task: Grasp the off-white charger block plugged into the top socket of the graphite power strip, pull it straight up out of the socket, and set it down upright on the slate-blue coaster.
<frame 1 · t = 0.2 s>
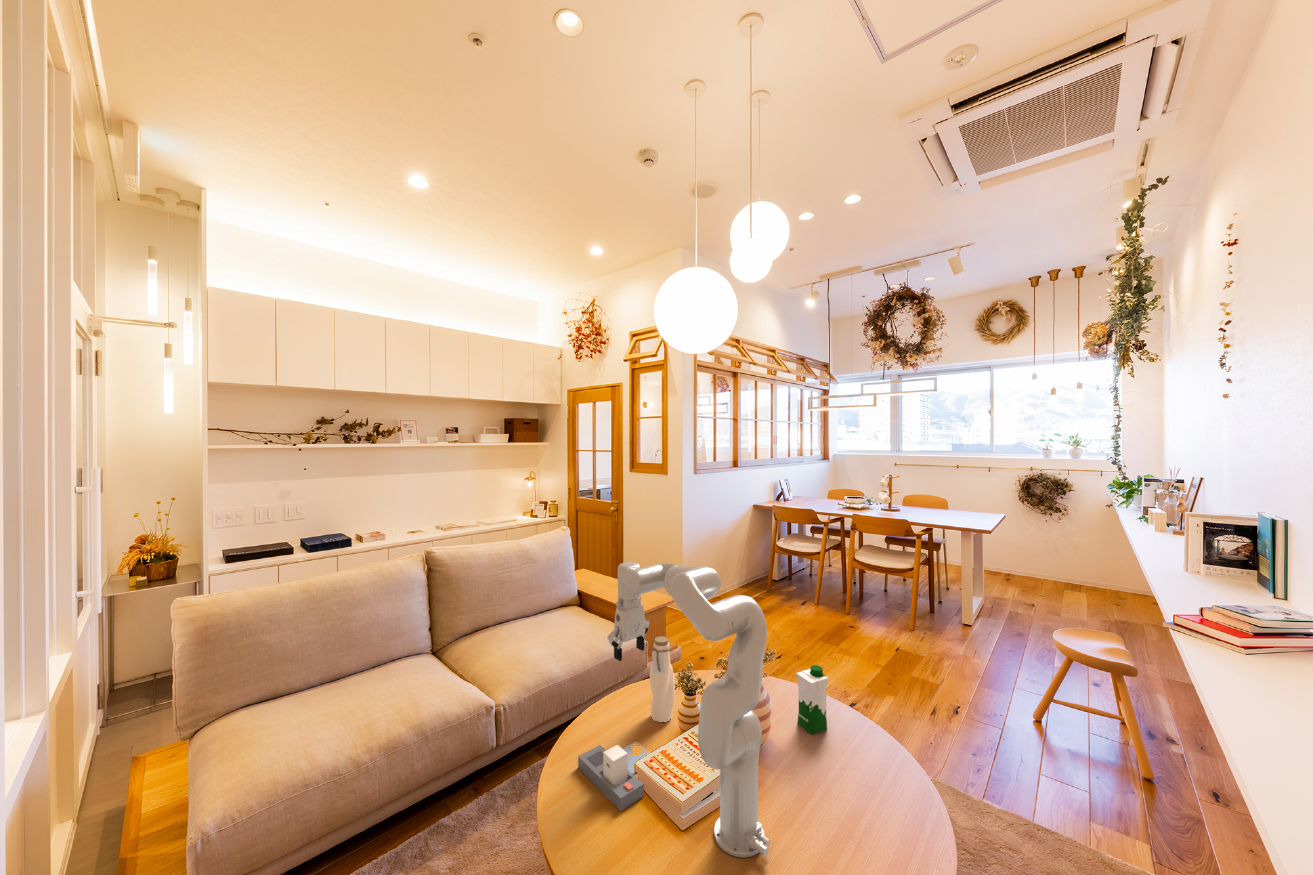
hand: (629, 654, 152), 31 cm above the table, fingers open, 9 cm apart
milk carton: (812, 727, 163), on the table
charger: (615, 780, 135), point 2 cm above the table, touching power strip
coaster: (632, 758, 147), on the table
water bottle: (662, 718, 168), on the table
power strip: (609, 781, 138), on the table
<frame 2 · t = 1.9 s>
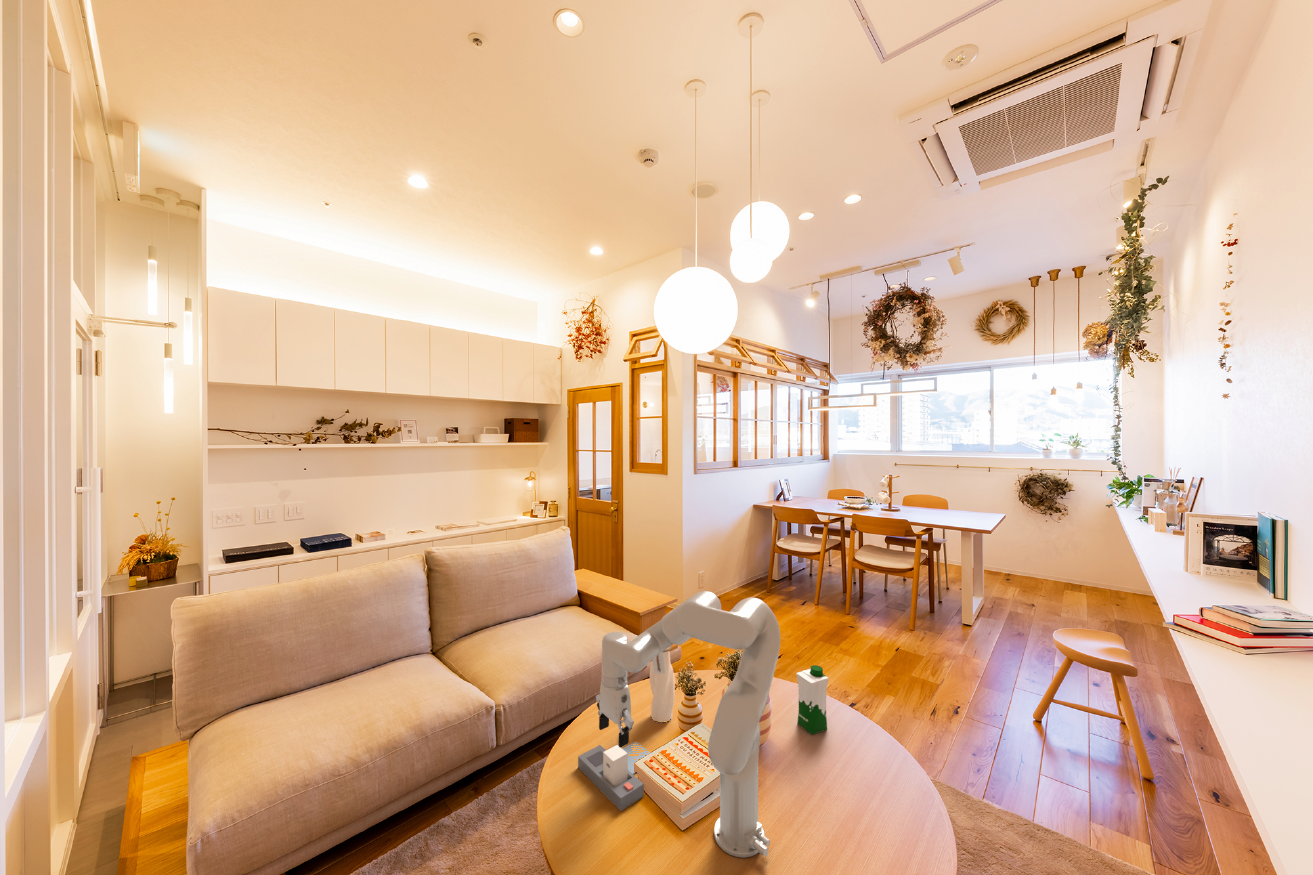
hand: (613, 736, 136), 15 cm above the table, fingers open, 9 cm apart
nothing on the table moved.
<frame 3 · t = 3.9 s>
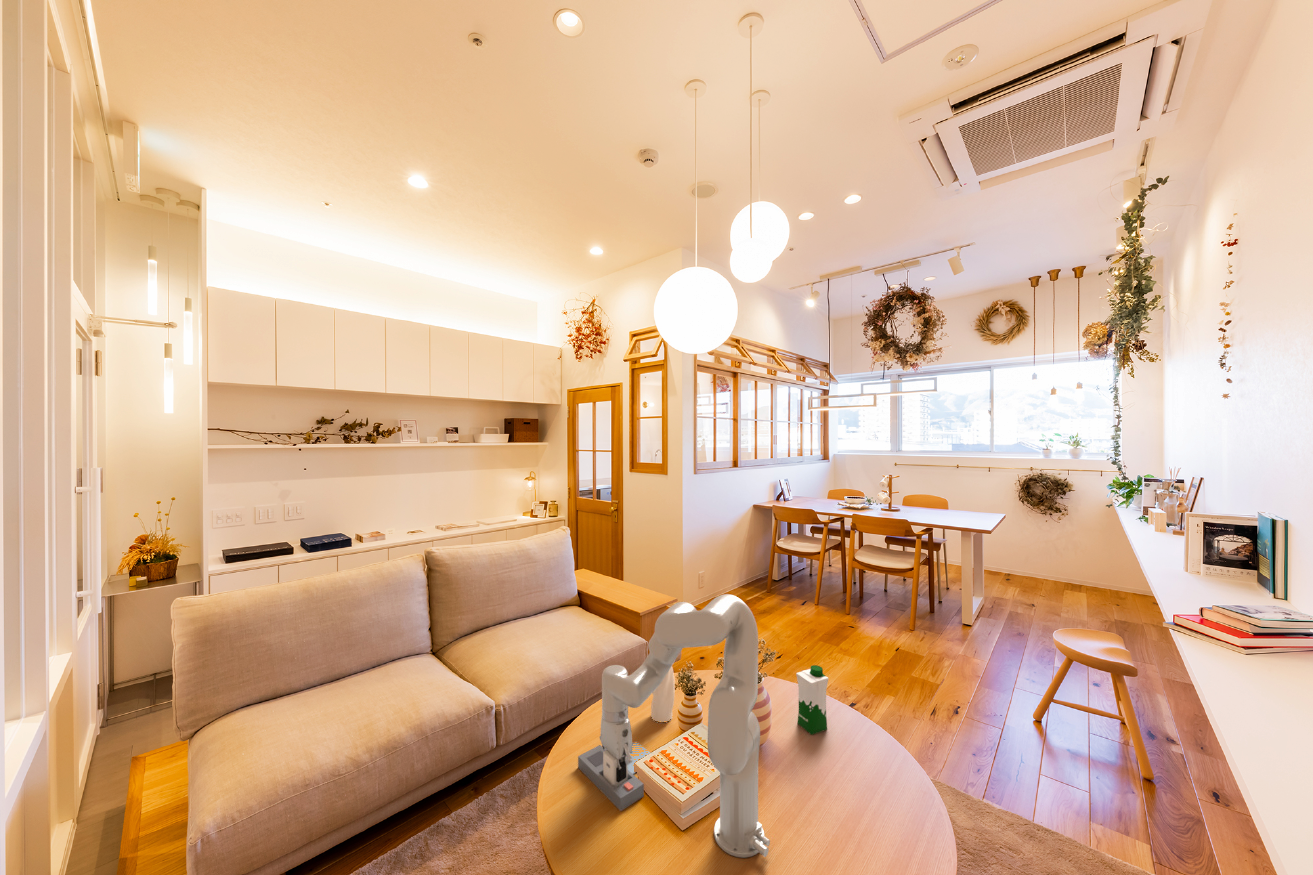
hand: (615, 773, 135), 4 cm above the table, fingers closed on charger, 5 cm apart
charger: (615, 780, 135), point 2 cm above the table, touching gripper, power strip
everything else where it was.
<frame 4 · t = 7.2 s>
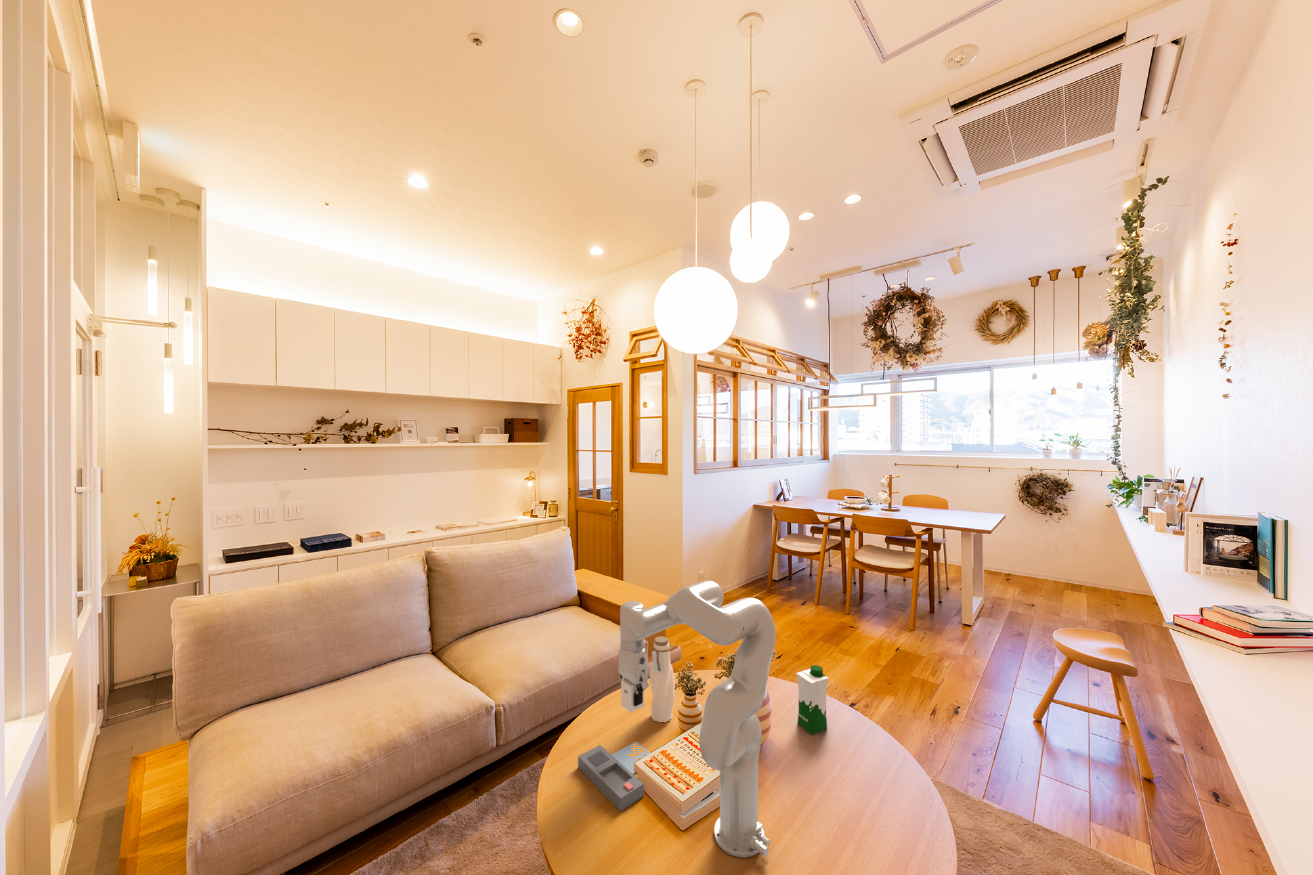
hand: (632, 699, 147), 19 cm above the table, fingers closed on charger, 5 cm apart
charger: (632, 705, 147), point 17 cm above the table, touching gripper
everything else where it was.
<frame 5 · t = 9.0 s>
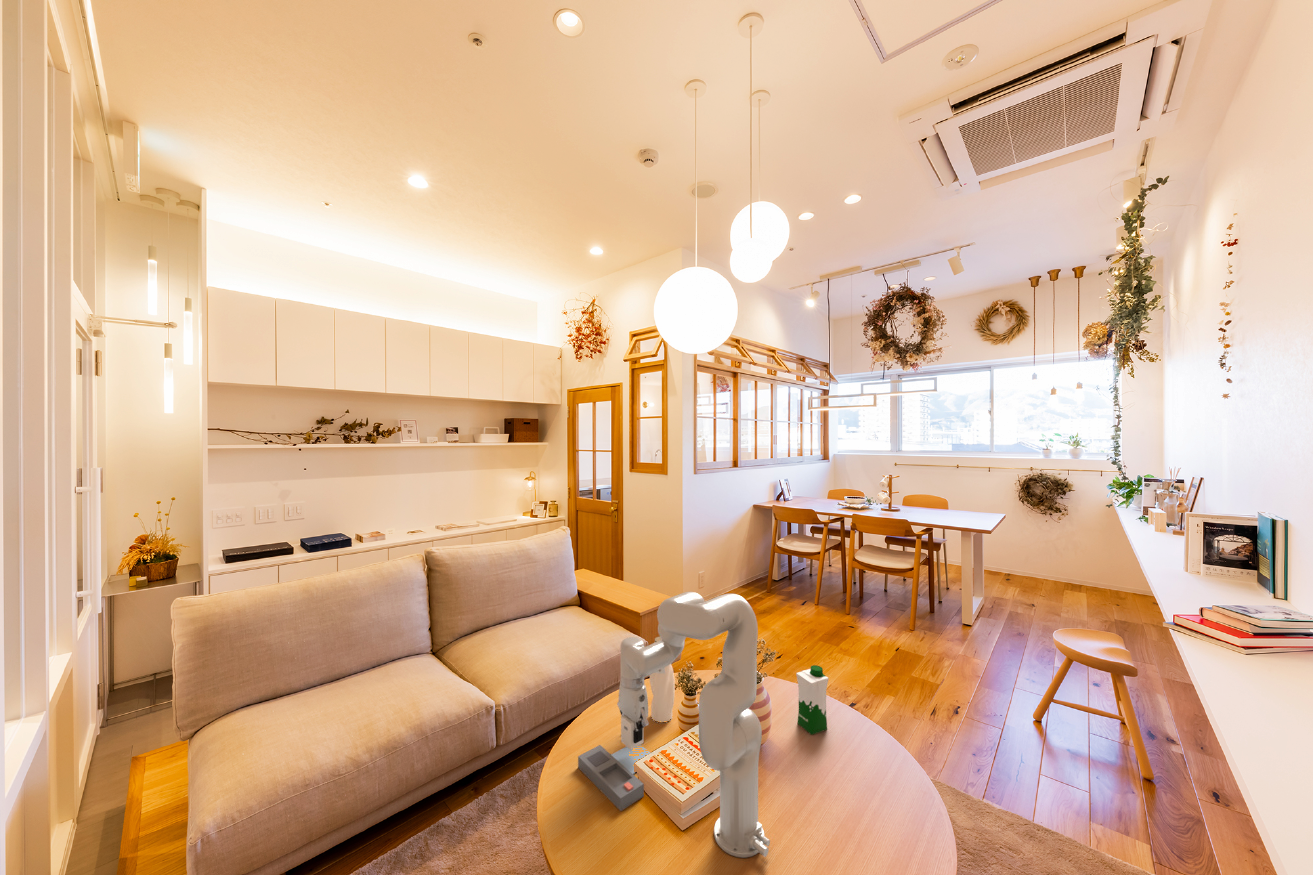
hand: (632, 736, 147), 7 cm above the table, fingers closed on charger, 5 cm apart
charger: (632, 742, 147), point 5 cm above the table, touching gripper
everything else where it was.
when the fingers open (4 cm above the table, at t = 10.6 s): charger drops 1 cm, resting on coaster.
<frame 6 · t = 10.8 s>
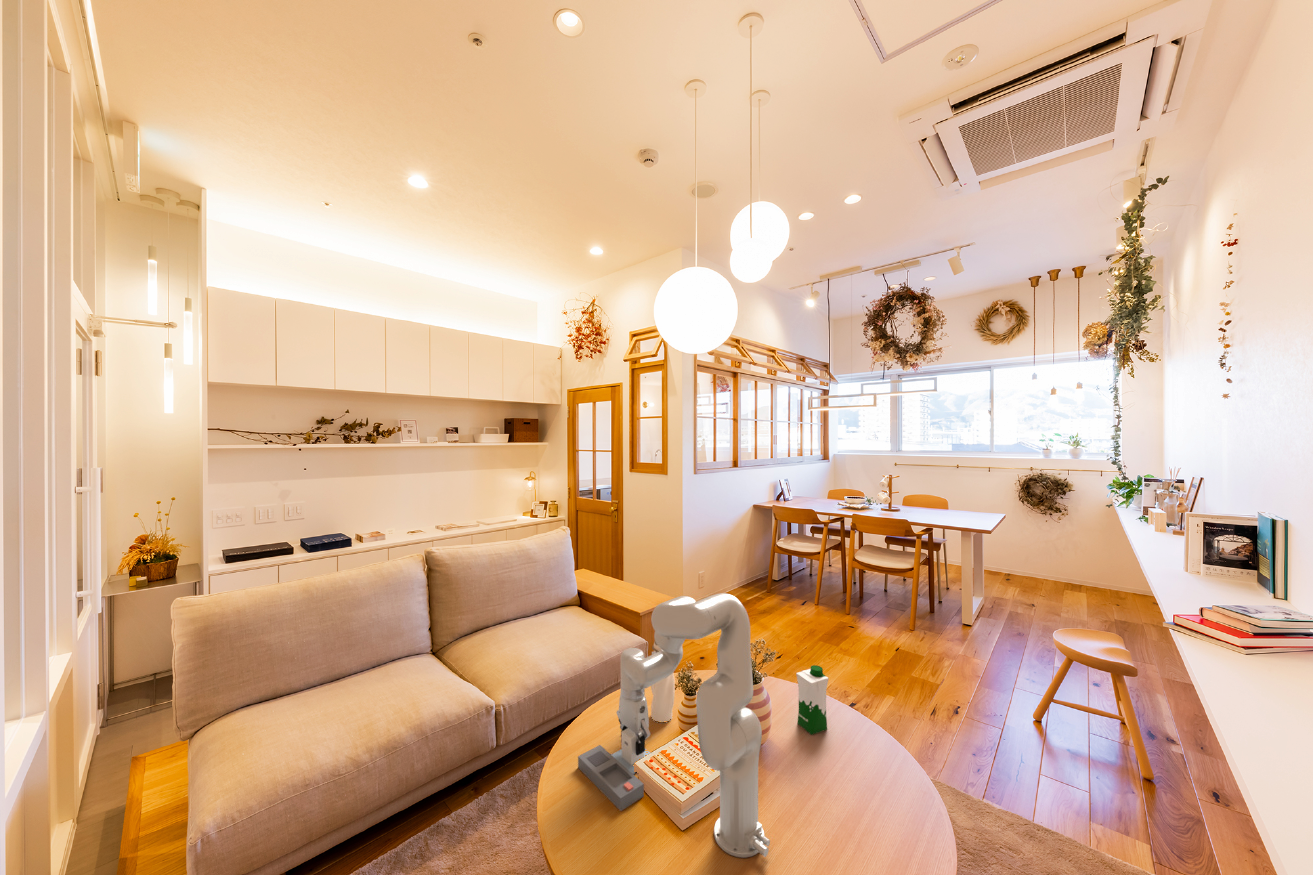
hand: (632, 746, 147), 4 cm above the table, fingers open, 6 cm apart
charger: (632, 757, 147), point 1 cm above the table, touching coaster
everything else where it was.
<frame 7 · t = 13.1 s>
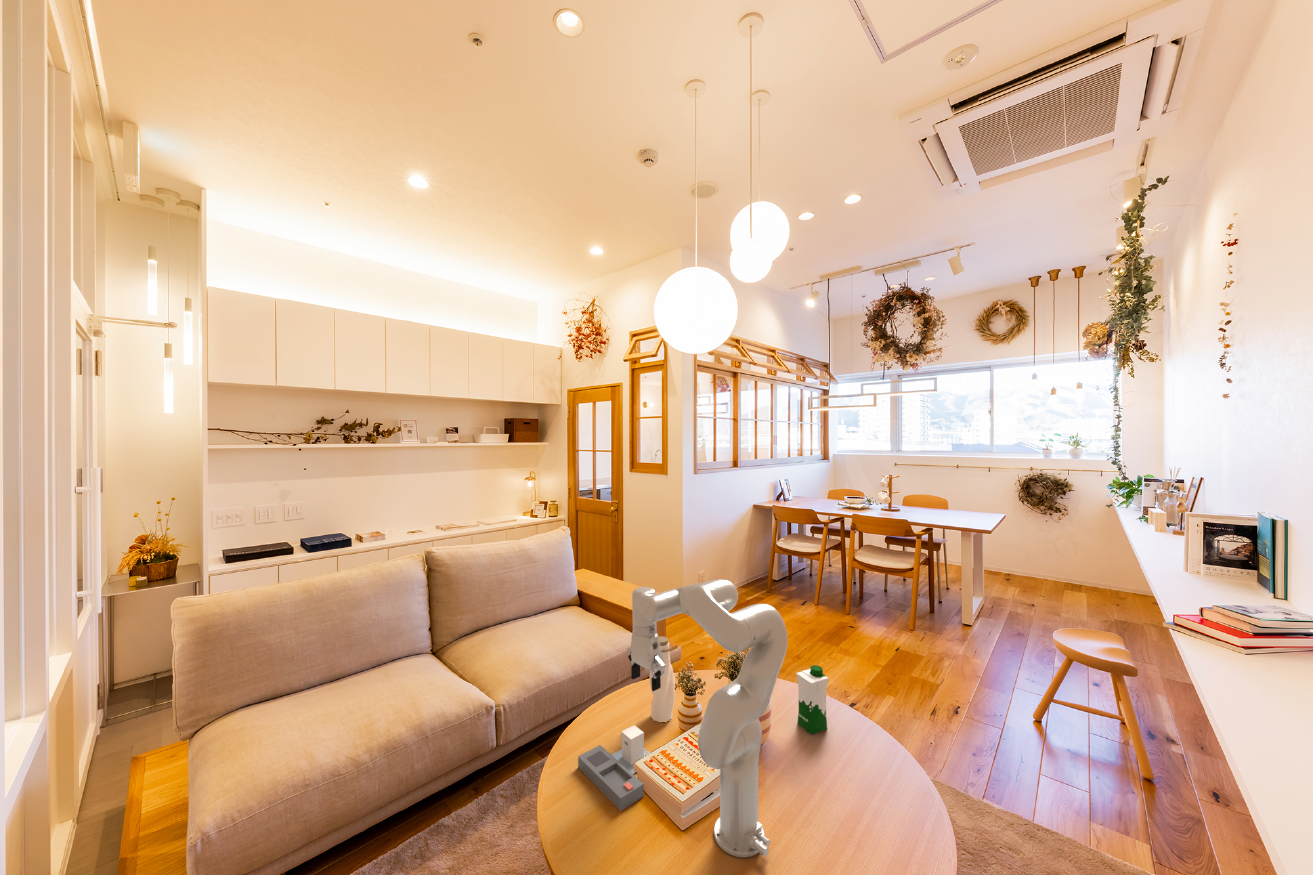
hand: (645, 683, 146), 24 cm above the table, fingers open, 9 cm apart
nothing on the table moved.
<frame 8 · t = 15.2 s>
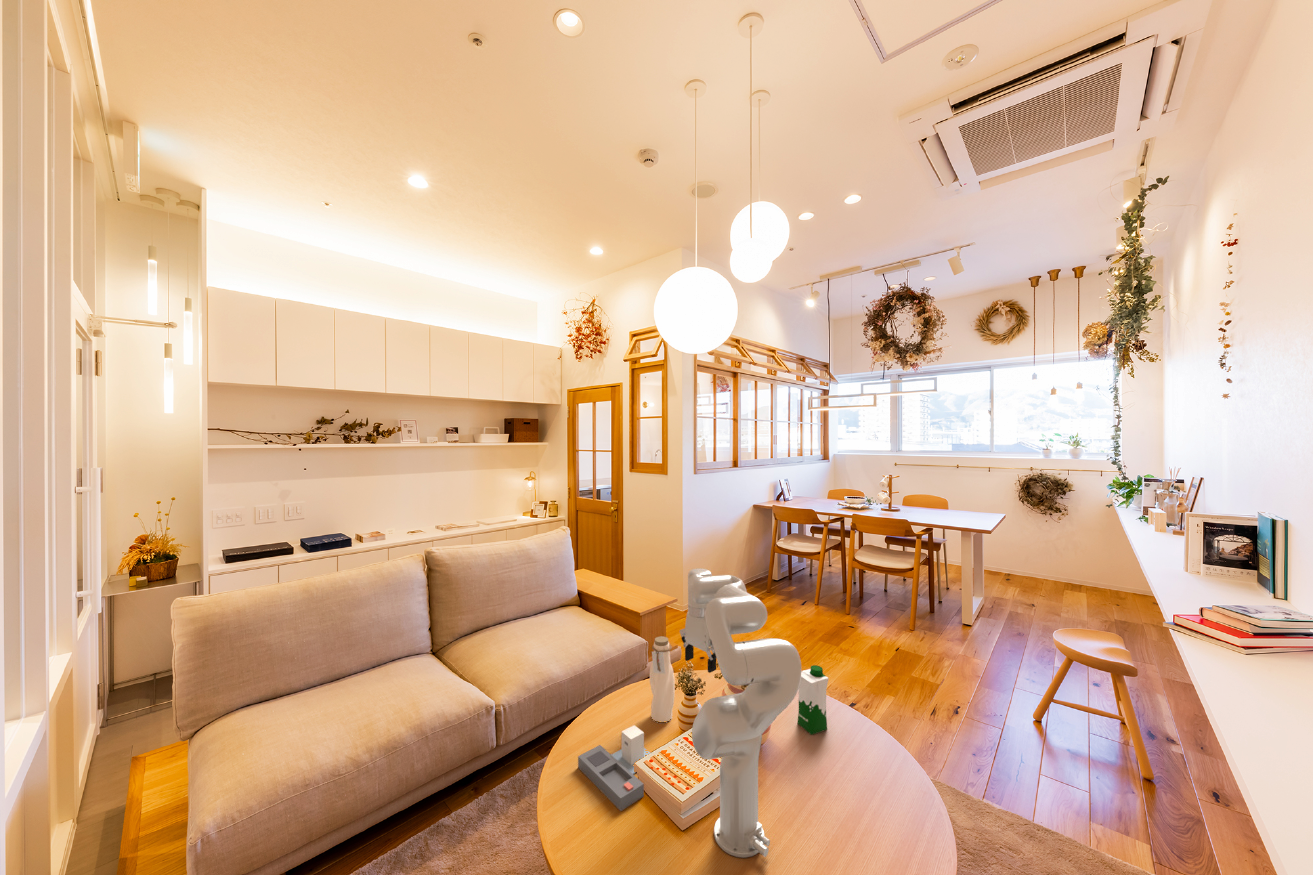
hand: (700, 665, 145), 30 cm above the table, fingers open, 9 cm apart
nothing on the table moved.
at the end: charger inside the target area on the coaster (0.0 cm from its centre), point 0.5 cm above the coaster's base; charger tilted 0°; charger touching coaster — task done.
